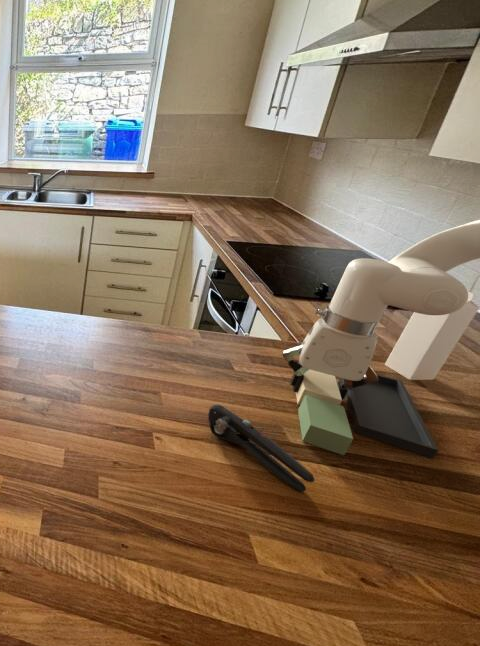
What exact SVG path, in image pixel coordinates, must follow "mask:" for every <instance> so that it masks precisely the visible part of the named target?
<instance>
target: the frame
mask: <svg viewBox="0 0 480 646" xmlns="http://www.w3.org/2000/svg"><path fill="white" fill-rule="evenodd" d="M376 375H377V377H378V379H379V380H378V381H377V382H372V383H368V384H365V385H363V386H358V387H354V388H353V389H352V390H348V392H347V393H346V395H345V397H344V401H345V405H346V407H347V410H348V411H347V412H348V415H349V417H350V420H351V425H352V427H353V430H354V433H355V434H356V435H359V436H362V437H366V438H368V439H371V440H374V441H378V442H381V443H384V444H386V445H390V446H393V447H396V448H399V449H403V450H405V451H409V452H412V453H414V454H418V455H421V456H424V457H427V458H430V459H434V458H435V456H436V455H437V453H438V452H439V448H438V446H437V445H436V443H435V442H434V438H433V437H432V435H431V433H430V432H429V430H428V427H427V426H426V424H425V422H424V420H423V418H422V417H421V414H420V412H419V411H418V408H417V407H416V405H415V403H414V401H413V399H412V397H411V395H410V394H409V391H408V389H407V388H406V385H405V384H404V382H403V380H402V379H398V378H395V377H390V376H387V375H383V374H380V373H376ZM337 378H338V382H339V381H342V378H339V377H337Z"/></svg>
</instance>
